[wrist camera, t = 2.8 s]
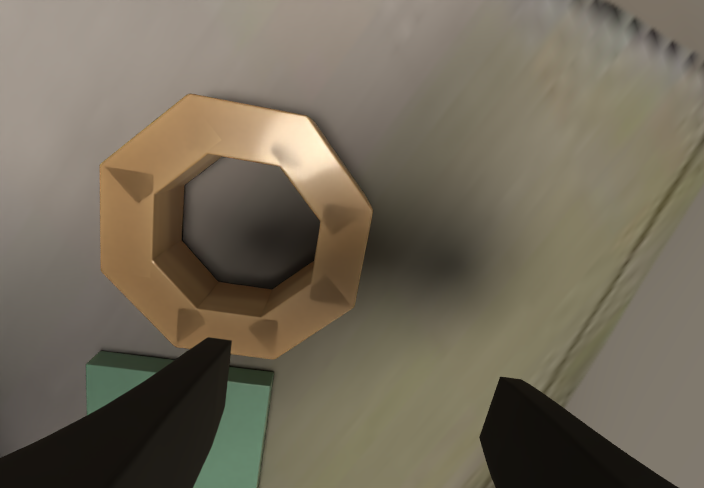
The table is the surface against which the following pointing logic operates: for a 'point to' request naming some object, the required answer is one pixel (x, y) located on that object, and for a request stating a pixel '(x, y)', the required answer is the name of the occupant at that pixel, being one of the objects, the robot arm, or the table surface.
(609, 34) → the table surface
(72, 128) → the table surface
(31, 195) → the table surface
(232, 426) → the green peg stand
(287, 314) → the hanging ring
